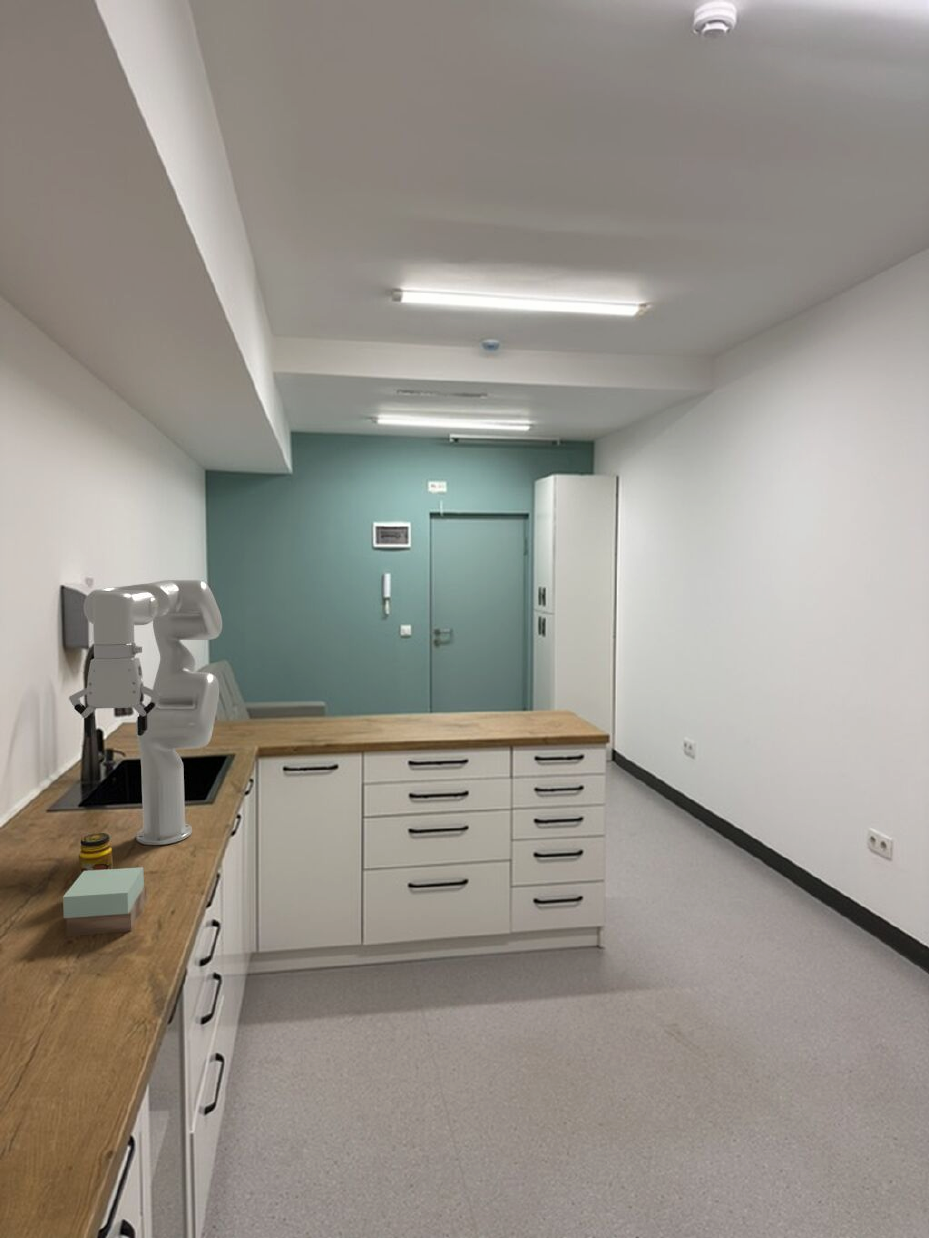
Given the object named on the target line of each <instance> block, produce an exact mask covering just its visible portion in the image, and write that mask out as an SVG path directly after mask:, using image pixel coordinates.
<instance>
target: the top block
mask: <svg viewBox="0 0 929 1238" xmlns="http://www.w3.org/2000/svg"><path fill="white" fill-rule="evenodd" d="M144 873H145V872H144V867H143V866H142V867H125V868H113V869H107V870H90V871H83V873H82V874H81V875H80V874H79V876H78V877H77V879H76V880H75V881H74V882H73V884H72V885H71V886H70V887H69V889H68V890H67V891H66V892H65V894H64V895H63V896H62V905H63V907H62V908H63V911H62V912H63V919H66V918H74V917H88V916H102V915H116V914H128V913H129V911H130V910H131V908H132V906H133V905H134V903H135V901H136V899H137V898H138V896H139V894H140V893H141V891H142V889H143V887H144V886H145V880H144V879H145V877H144V876H145V874H144Z"/></svg>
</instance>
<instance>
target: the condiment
mask: <svg viewBox="0 0 929 1238" xmlns="http://www.w3.org/2000/svg"><path fill="white" fill-rule="evenodd" d="M110 840H111V839H110V835H109V834H107V833H105V832H96V833H91V834H88V835H85V836H83V837H82V838H81V839H80V842H79V843H80V852H79V855H78V861H79V862H78V864H79V871H78V872H79V876H80V875H81V874H82V873H83V871H90V870H107V869H114V864H113V863H114V862H113V861H114V860H113V849H112V846H111V842H110Z"/></svg>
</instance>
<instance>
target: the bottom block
mask: <svg viewBox="0 0 929 1238" xmlns="http://www.w3.org/2000/svg"><path fill="white" fill-rule="evenodd" d="M146 902H147V886H146V885H144V887H143V889H142V891H141V893H140V894H139V896H138V898H137V899H136V901H135V903H134V905H133V906H132V908H131V910H130V911H129V913H128V914H116V915H102V916H88V917H74V918H65V919H66V922H65V923H66V937H74V936H87V935H99V934H100V935H101V934H103V935H104V934H113V933H114V934H115V933H127V932H129V933H130V932H132V931H133V929H134V927H135V925H136V924H135V923H137V922H138V920H139V918H140V916H141V914H142V913H143V911H142V909H143V907H144V906H145V907H146V905H147V903H146ZM145 904H146V905H145ZM145 907H144V908H145ZM143 910H144V909H143ZM138 917H139V918H138ZM137 919H138V920H137ZM136 921H137V922H136Z"/></svg>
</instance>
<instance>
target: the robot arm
mask: <svg viewBox="0 0 929 1238" xmlns="http://www.w3.org/2000/svg"><path fill="white" fill-rule="evenodd" d="M83 613H84V616H85V618H86V620H87V621H88V622H89V623H91V624H92V627H93V628H92V629H93V658H92V659H90V662H89V668H88V675H87V683H86V687H85V688H83V689H82V690H79V691H78V692H75V693H73V694H72V695H70V696H69V697H68V699H69V701H70V704H71V705H72V706H73V708H74V710H75V711H76V712H77V713H79V715H81V717H82V719H83V724H84V725H83V728H84V729H83V730H84V733H85V734H86V737H87V738H92V737H93V736H94V735H96V717H95V715H94V712H95V711H96V710H97V709H124V708H125V709H127V708H128V709H129V708H130V709H131V708H133V709H134V710H135V711H136V712H137V714H138V716H137V717H136V722H135V737H136V740H137V744H138V749H139V755H140V766H141V768H140V770H141V773H140V774H141V797H142V798H141V802H142V828H141V829H139V830H138V832H137V833H136V841H137V842H138V843H140V844H144V845H145V846H146V845H148V846H161V845H162V846H163V845H169V844H174V843H177V842H178V843H179V842H181V841H183V840H185V839H187V838H188V837H190V836H191V834H192V833H193V828H192V826H191V824H189V823H186V813H185V812H186V811H185V810H186V809H185V808H186V807H185V779H184V776H185V775H184V770H185V769H184V762H183V761H182V758H181V757H180V755H179V753H178V752H177V751H176V749H199V748H203V747H206V746H207V745H208V744H209V743H210V742H211V738H212V735H213V731H214V725H215V721H216V715H217V711H218V704H219V700H220V699H219V698H220V684H219V680H218V678H217V677H216V676H215V675H214V674H213V673H210V672H207V671H206V672H204V671H202V672H200V671H194V670H195V665H196V660H195V657H194V655H193V654H192V652H191V651H190V650H189V649H188V648H187V646H185V644H183V643H182V642H181V640H182V641H209V640H211V641H212V640H215V639H217V638H218V637H219V636H220V634H222V630H223V619H222V614H221V611H220V609H219V607H218V604H217V602H216V599H215V596H214V594H213V592H212V590H211V588H210V587H209V585H208V584H206V582H204V581H202V580H197V579H193V580H192V579H189V580H188V579H186V580H185V579H181V580H179V579H176V580H175V579H166V580H160V581H159V580H158V581H154V582H148V583H140V584H139V583H138V584H132V585H125V586H124V585H123V586H114V587H106V588H105V587H104V588H99V589H94V590H92V591H90V592H89V593H88V595H87V596H86V597H85V600H84V603H83ZM151 623H152V629H153V635H154V637H155V642H156V645H157V649H158V652H159V663H158V669H157V672H156V675H155V680H154V684H153V687H152V688H150V687H147V686H145V685H144V678H143V669H142V665H141V661H140V660H141V659H140V658H139V657H136V655H137V654H142V653H143V647H142V646H138V645H136V642H135V626H146V625H149V624H151ZM145 695H146V696H148V697H150V702H149V703H148V704H147V705H145V704H144V703H143V702H144V700H145ZM84 696H86V703H87V707H86V706H85V705H84V704H83V703H81V701H80V700H81V698H82V697H84Z"/></svg>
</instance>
